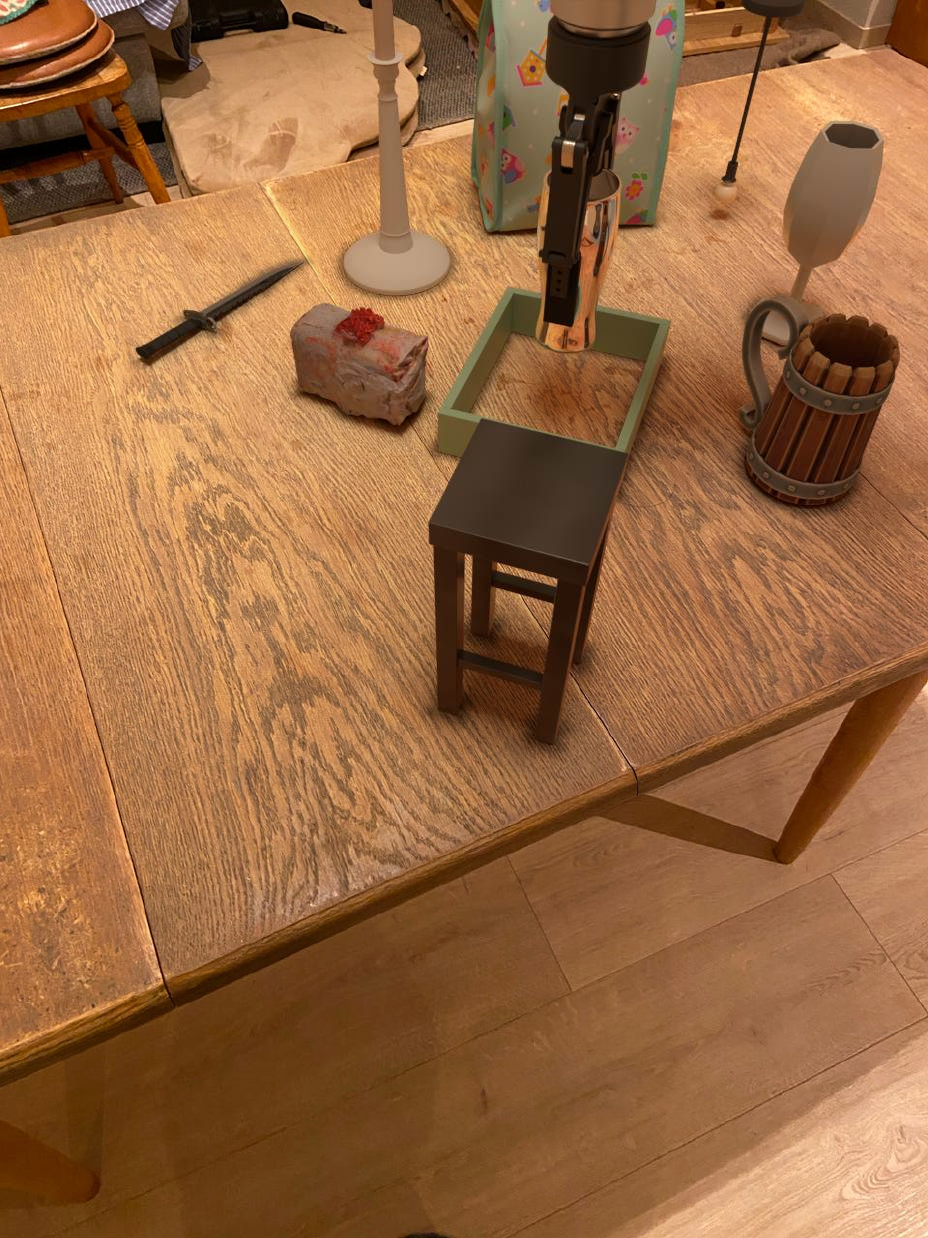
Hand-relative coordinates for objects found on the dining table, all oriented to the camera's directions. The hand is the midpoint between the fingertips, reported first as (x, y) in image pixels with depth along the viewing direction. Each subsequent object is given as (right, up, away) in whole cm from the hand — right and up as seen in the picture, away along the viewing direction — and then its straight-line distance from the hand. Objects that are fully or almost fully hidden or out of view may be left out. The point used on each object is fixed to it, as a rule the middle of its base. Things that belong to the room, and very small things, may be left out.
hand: (569, 298), depth 83 cm
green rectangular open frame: (0, -7, +10) cm, 13 cm away
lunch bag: (+3, +24, +34) cm, 41 cm away
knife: (-37, +6, +20) cm, 42 cm away
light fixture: (+23, +22, +32) cm, 45 cm away
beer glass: (0, -3, +3) cm, 4 cm away
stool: (-6, -35, -10) cm, 37 cm away
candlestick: (-18, +13, +25) cm, 34 cm away
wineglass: (+27, +4, +19) cm, 33 cm away
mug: (+21, -14, +6) cm, 26 cm away
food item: (-20, -7, +11) cm, 24 cm away
